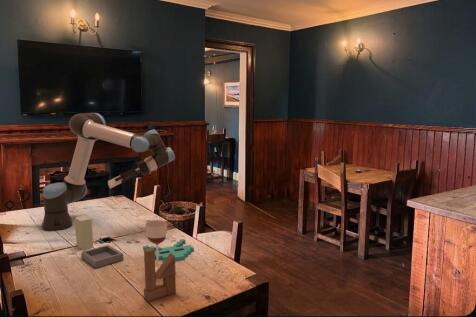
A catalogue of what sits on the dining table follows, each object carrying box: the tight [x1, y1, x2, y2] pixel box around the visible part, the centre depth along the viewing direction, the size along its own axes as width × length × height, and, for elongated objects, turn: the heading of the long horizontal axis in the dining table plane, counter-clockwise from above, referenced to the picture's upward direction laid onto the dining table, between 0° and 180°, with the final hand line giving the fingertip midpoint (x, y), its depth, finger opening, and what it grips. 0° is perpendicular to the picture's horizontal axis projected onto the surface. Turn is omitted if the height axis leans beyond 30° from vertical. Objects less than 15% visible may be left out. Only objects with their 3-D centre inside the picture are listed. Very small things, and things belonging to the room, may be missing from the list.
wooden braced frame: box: [143, 248, 177, 302], centre depth 136 cm, size 4×11×18 cm, turn 126°
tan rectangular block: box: [74, 215, 94, 251], centre depth 182 cm, size 7×5×14 cm
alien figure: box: [142, 238, 195, 262], centre depth 175 cm, size 20×2×20 cm
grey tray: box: [80, 244, 124, 270], centre depth 168 cm, size 14×12×3 cm
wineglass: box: [145, 219, 168, 273], centre depth 155 cm, size 8×9×20 cm
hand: (108, 185), depth 195 cm, fingers open, 13 cm apart
